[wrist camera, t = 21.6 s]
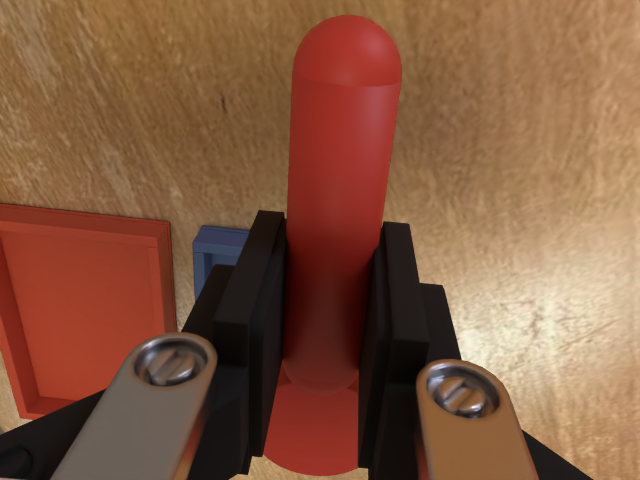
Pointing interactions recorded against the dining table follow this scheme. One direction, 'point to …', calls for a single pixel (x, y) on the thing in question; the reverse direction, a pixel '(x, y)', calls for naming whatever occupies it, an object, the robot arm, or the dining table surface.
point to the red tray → (78, 300)
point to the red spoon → (332, 237)
